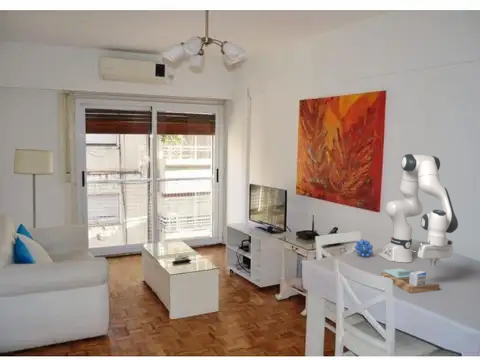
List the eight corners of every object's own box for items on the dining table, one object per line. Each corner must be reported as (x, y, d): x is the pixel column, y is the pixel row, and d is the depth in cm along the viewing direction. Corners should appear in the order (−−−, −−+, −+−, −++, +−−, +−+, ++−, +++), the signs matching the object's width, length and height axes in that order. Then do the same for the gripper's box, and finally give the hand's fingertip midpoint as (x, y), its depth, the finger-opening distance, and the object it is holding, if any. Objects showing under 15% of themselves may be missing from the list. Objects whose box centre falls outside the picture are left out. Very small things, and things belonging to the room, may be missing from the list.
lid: (383, 271, 248) (383, 266, 247) (401, 269, 252) (401, 264, 252) (398, 278, 236) (398, 273, 236) (417, 276, 240) (417, 271, 240)
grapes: (355, 258, 283) (356, 240, 282) (353, 255, 290) (354, 237, 289) (373, 259, 283) (375, 241, 281) (371, 256, 289) (372, 238, 288)
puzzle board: (380, 278, 245) (381, 272, 245) (406, 275, 252) (407, 270, 251) (411, 293, 223) (411, 287, 223) (439, 290, 229) (439, 284, 229)
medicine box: (416, 290, 227) (417, 274, 226) (408, 288, 231) (409, 272, 230) (425, 288, 232) (426, 272, 231) (417, 285, 235) (418, 269, 234)
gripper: (424, 243, 228) (422, 269, 230) (455, 241, 235) (453, 266, 237) (416, 240, 234) (413, 265, 236) (446, 238, 241) (444, 262, 242)
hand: (433, 265), depth 236 cm, fingers closed
